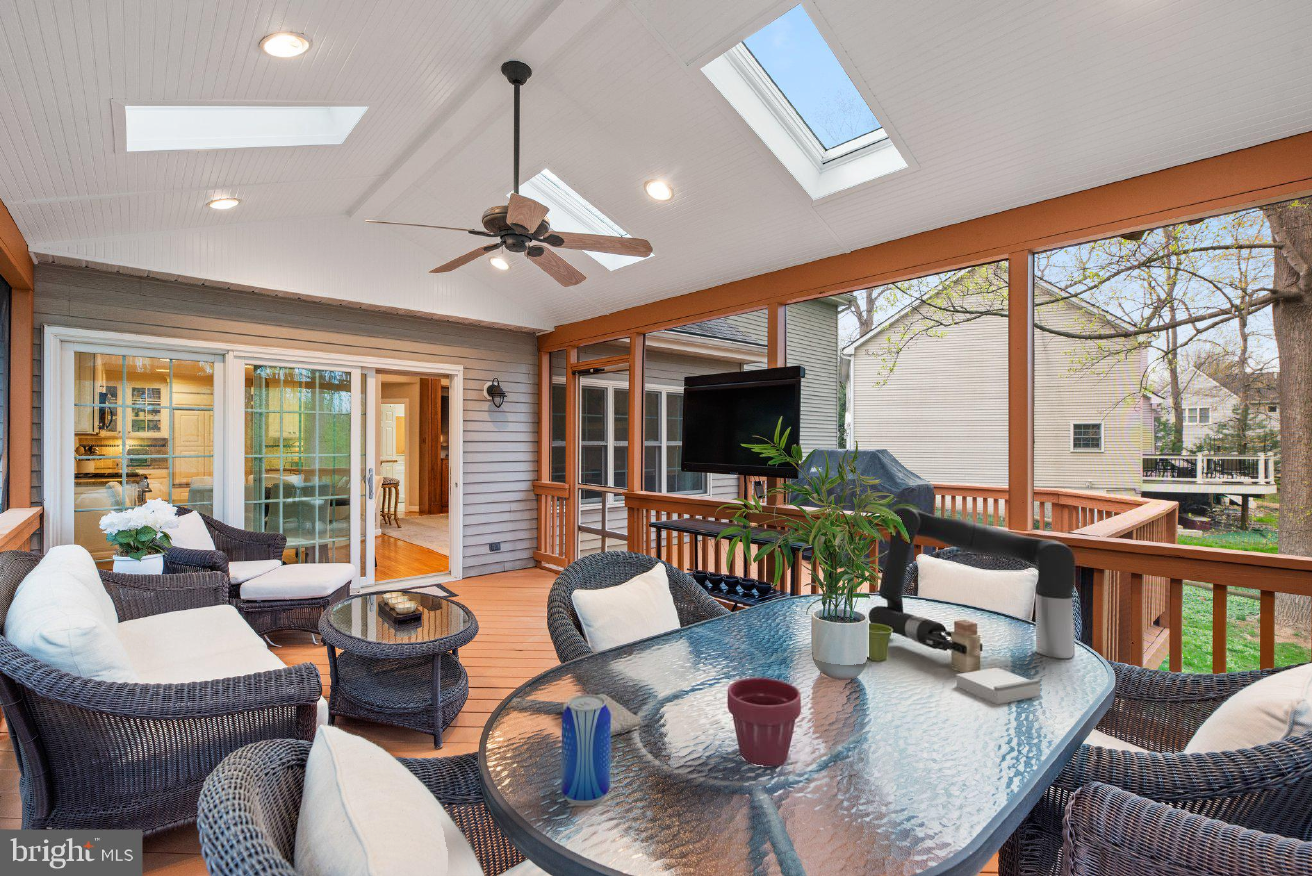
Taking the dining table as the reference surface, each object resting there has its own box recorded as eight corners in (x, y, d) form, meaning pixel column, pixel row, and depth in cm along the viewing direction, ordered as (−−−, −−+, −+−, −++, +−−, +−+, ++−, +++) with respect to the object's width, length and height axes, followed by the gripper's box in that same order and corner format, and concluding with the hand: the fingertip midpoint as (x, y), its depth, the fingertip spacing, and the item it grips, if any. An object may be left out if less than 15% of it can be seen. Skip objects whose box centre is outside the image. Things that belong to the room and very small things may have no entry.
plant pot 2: (887, 653, 185) (887, 623, 185) (896, 664, 176) (896, 632, 176) (855, 652, 186) (855, 622, 186) (862, 662, 177) (862, 631, 177)
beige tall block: (965, 666, 174) (964, 619, 174) (980, 672, 169) (980, 623, 170) (951, 668, 172) (951, 620, 173) (966, 674, 168) (966, 625, 168)
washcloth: (602, 702, 149) (602, 689, 149) (645, 730, 134) (645, 716, 134) (557, 714, 142) (557, 701, 142) (596, 745, 127) (596, 730, 127)
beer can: (562, 783, 112) (563, 693, 112) (609, 781, 112) (610, 691, 113) (559, 810, 103) (560, 712, 104) (610, 808, 104) (611, 711, 104)
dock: (996, 679, 164) (996, 664, 164) (1039, 696, 153) (1039, 680, 153) (956, 686, 159) (956, 671, 159) (997, 704, 148) (997, 688, 148)
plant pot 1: (785, 783, 112) (785, 711, 113) (714, 762, 120) (715, 694, 120) (810, 750, 124) (810, 685, 125) (745, 733, 132) (745, 672, 132)
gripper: (906, 621, 182) (953, 637, 166) (943, 616, 187) (993, 632, 171) (906, 647, 182) (953, 666, 166) (944, 642, 187) (993, 659, 171)
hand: (973, 648), depth 169 cm, fingers closed on beige tall block, 5 cm apart
